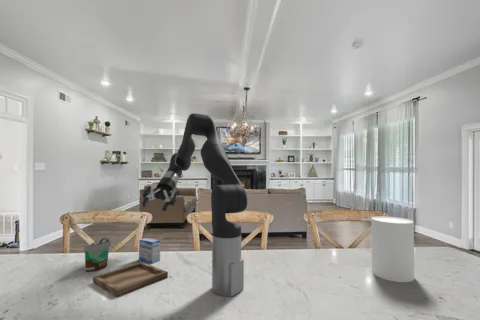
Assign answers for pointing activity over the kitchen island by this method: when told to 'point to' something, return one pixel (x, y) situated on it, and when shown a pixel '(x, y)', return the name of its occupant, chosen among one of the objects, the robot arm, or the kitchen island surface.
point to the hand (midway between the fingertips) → (153, 208)
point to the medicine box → (149, 250)
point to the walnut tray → (129, 278)
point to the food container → (97, 255)
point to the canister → (393, 248)
